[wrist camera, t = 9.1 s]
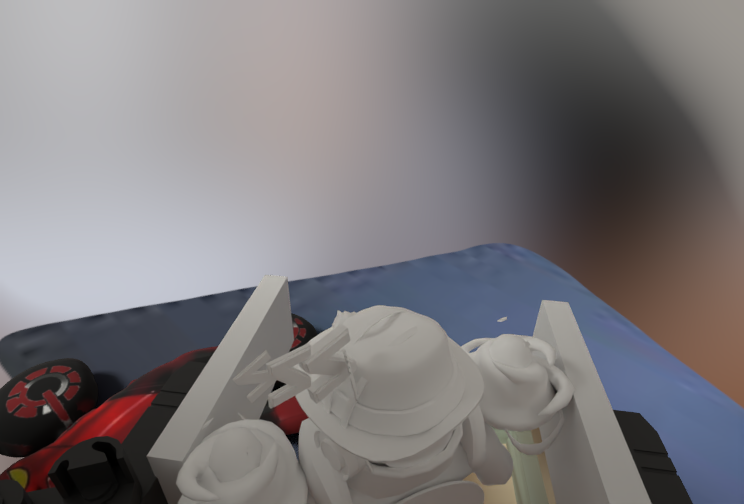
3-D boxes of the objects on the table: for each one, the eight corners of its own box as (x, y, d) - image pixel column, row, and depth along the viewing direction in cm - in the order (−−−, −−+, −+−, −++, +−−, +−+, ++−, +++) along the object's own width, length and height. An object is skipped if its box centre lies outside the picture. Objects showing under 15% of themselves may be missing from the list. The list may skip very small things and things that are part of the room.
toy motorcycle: (17, 406, 36) (-98, 609, 22) (-4, 354, 34) (-144, 540, 20) (310, 342, 44) (361, 461, 30) (306, 297, 42) (359, 402, 28)
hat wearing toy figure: (251, 770, 10) (81, 469, 4) (228, 594, 13) (110, 276, 7) (539, 590, 14) (671, 271, 8) (466, 481, 17) (519, 194, 11)
